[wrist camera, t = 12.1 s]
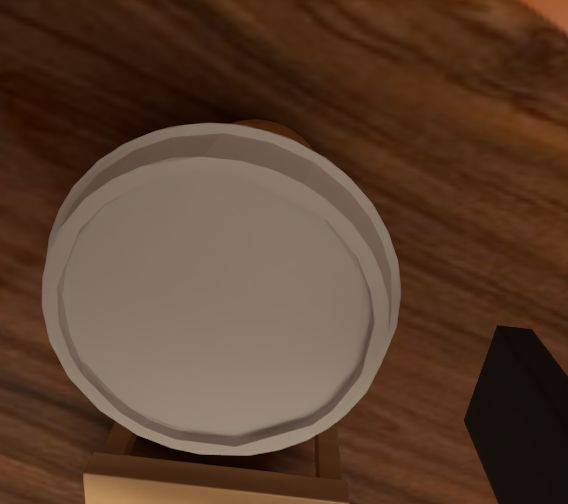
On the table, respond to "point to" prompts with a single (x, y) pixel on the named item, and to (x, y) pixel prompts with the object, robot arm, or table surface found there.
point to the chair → (207, 478)
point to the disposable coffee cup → (220, 288)
